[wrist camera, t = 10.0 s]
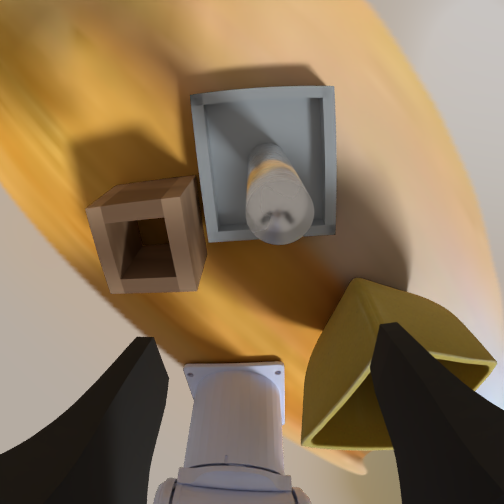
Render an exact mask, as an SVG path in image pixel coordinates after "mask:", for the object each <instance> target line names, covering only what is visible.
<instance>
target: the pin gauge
mask: <svg viewBox="0 0 504 504" xmlns="http://www.w3.org/2000/svg"><path fill="white" fill-rule="evenodd" d="M313 218H314V205H313V202H312V199H311V197H310V195H309V194H308V192H307V190H306V188H305V187H304V185H303V183H302V182H301V180H300V178H299V176H298V175H297V173H296V171H295V170H294V168H293V166H292V165H291V163H290V161H289V159H288V158H287V156H286V154H285V153H284V151H283V150H282V149H281V148H280V147H279V146H278V145H276V144H273V143H262V144H259V145H257V146H256V147H255V148H254V149H253V150H252V151H251V153H250V155H249V159H248V176H247V194H246V221H247V224H248V226H249V228H250V230H251V231H252V233H253V234H254V235H255V236H256V237H257V238H259V239H260V240H262V241H264V242H266V243H269V244H274V245H284V244H289V243H292V242H294V241H296V240H298V239H300V238H301V237H302V236H303V235H305V233H306V232H307V231H308V230H309V228H310V226H311V225H312V222H313Z"/></svg>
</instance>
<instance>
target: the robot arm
mask: <svg viewBox="0 0 504 504" xmlns="http://www.w3.org/2000/svg"><path fill="white" fill-rule="evenodd" d="M183 371H184V374H185V376H186V379H187V382H188V385H189V388H190V391H191V394H192V396H193V399H194V405H193V411H192V417H191V423H190V429H189V436H188V442H187V448H186V455H185V461H184V468H183V467H180V468H179V472H178V479H175V478H168V479H167V480H166V481H164V482H163V483H161V484H160V485H159V487H158V489H157V491H156V495H155V498H154V503H153V504H311V501H310V499H309V497H308V496H307V495H306V494H305V493H304V492H303V491H302V489H300V488H298V487H292V485H291V476H290V475H284V458H283V439H282V425H284V424H285V384H284V364H283V363H282V362H280V361H274V362H255V363H225V364H186V365H184V368H183ZM370 371H371V376H372V381H373V385H374V390H375V394H376V397H377V400H378V403H379V406H380V409H381V412H382V415H383V418H384V421H385V424H386V427H387V430H388V433H389V436H390V439H391V443H392V446H393V449H394V453H395V457H396V463H397V468H398V474H399V480H400V489H401V497H402V504H504V410H502V409H501V408H499V407H497V406H496V405H494V404H492V403H491V402H489V401H488V400H486V399H485V398H484V397H482V396H481V395H479V394H478V393H476V392H475V391H474V390H472V389H471V388H470V387H468V386H467V385H466V384H464V383H463V382H462V381H461V380H460V379H458V378H457V377H456V376H455V375H454V374H452V373H451V372H450V371H449V370H448V369H447V368H445V367H444V366H443V365H442V364H441V363H440V362H439V361H438V360H437V359H436V358H434V357H433V356H432V355H431V354H430V353H429V352H428V351H427V350H426V349H425V348H424V347H423V346H422V345H421V344H420V343H419V342H418V341H417V340H415V339H414V338H413V337H412V336H411V335H410V334H409V333H408V332H407V331H406V330H405V329H404V328H403V327H402V326H401V325H400V324H399V323H398V322H392V323H385V324H380V325H379V330H378V335H377V339H376V343H375V348H374V352H373V356H372V360H371V364H370ZM168 382H169V377H168V374H167V372H166V369H165V367H164V364H163V361H162V359H161V356H160V353H159V351H158V348H157V345H156V342H155V339H154V337H136V338H135V339H134V341H133V342H132V343H131V344H130V345H129V346H128V347H127V348H126V349H125V350H124V352H123V353H122V354H121V355H120V356H119V357H118V358H117V359H116V360H115V362H114V363H113V364H112V365H111V366H110V367H109V368H108V369H107V370H106V372H105V373H104V374H103V375H102V376H101V377H100V378H99V379H98V380H97V381H96V382H95V383H94V384H93V385H92V386H91V387H90V388H89V389H88V390H87V391H86V392H85V393H84V395H82V396H81V397H80V398H79V399H78V400H77V401H76V402H75V403H74V404H73V405H72V406H71V407H70V408H69V409H68V410H66V411H65V412H64V413H63V414H62V415H60V416H59V417H58V418H57V419H56V420H54V421H53V422H52V423H51V424H49V425H48V426H46V427H45V428H43V429H42V430H41V431H39V432H38V433H36V434H35V435H34V436H32V437H31V438H30V439H28V440H26V441H24V442H23V443H21V444H19V445H17V446H16V447H14V448H12V449H10V450H8V451H6V452H4V453H2V454H0V504H147V491H148V481H149V471H150V465H151V461H152V456H153V452H154V448H155V444H156V440H157V436H158V433H159V429H160V425H161V421H162V417H163V413H164V409H165V405H166V398H167V391H168Z"/></svg>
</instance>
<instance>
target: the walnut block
mask: <svg viewBox="0 0 504 504" xmlns="http://www.w3.org/2000/svg"><path fill="white" fill-rule="evenodd" d="M85 210H86V213H87V217H88V221H89V225H90V229H91V232H92V236H93V239H94V243H95V246H96V250H97V253H98V256H99V259H100V263H101V266H102V269H103V272H104V275H105V278H106V281H107V284H108V287H109V290H110V293H111V294H124V293H161V292H188V291H197V289H198V286H199V282H200V278H201V275H202V271H203V268H204V264H205V260H206V257H207V249H206V243H205V237H204V230H203V223H202V217H201V210H200V203H199V196H198V188H197V181H196V175H193V176H184V177H175V178H167V179H159V180H151V181H143V182H136V183H129V184H123V185H116V186H115V187H113V188H112V189H111V190H109V191H108V192H107V193H105V194H104V195H102V196H101V197H100V198H99V199H97V200H96V201H95V202H93V203H92V204H91V205H89V206H88V207H87V208H86V209H85ZM163 217H164V218H165V224H166V229H167V234H168V239H169V244H159V245H145V246H143V245H142V241H141V237H140V233H139V228H138V224H137V220H143V219H153V218H163Z"/></svg>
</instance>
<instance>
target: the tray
mask: <svg viewBox="0 0 504 504" xmlns="http://www.w3.org/2000/svg"><path fill="white" fill-rule="evenodd" d="M190 100H191V110H192V119H193V128H194V136H195V145H196V153H197V161H198V169H199V177H200V185H201V192H202V200H203V207H204V214H205V221H206V228H207V235H208V241H209V242H224V241H239V240H254V239H259V238H257V237H256V236H255V235H254V234H253V233H252V231H251V230H250V228H249V226H248V224H247V221H246V194H247V176H248V159H249V155H250V153H251V151H252V150H253V149H254V148H255V147H256V146H257V145H259V144H262V143H273V144H276V145H278V146H279V147H280V148H281V149H282V150H283V151H284V153H285V154H286V156H287V158H288V159H289V161H290V163H291V165H292V166H293V168H294V170H295V171H296V173H297V175H298V176H299V178H300V180H301V182H302V183H303V185H304V187H305V188H306V190H307V192H308V194H309V195H310V197H311V199H312V202H313V205H314V218H313V222H312V225H311V226H310V228H309V230H308V231H307V232H306V233H305V235H303V236H319V235H335V230H336V117H335V94H334V86H283V87H262V88H248V89H236V90H226V91H216V92H208V93H200V94H193V95H190Z"/></svg>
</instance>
